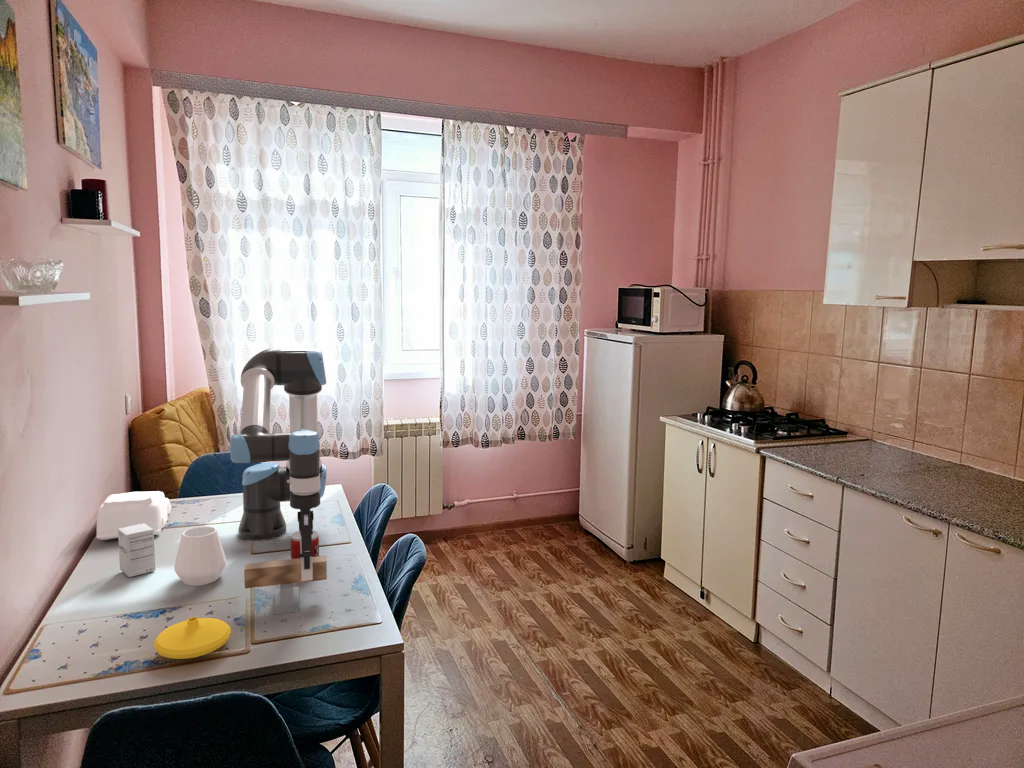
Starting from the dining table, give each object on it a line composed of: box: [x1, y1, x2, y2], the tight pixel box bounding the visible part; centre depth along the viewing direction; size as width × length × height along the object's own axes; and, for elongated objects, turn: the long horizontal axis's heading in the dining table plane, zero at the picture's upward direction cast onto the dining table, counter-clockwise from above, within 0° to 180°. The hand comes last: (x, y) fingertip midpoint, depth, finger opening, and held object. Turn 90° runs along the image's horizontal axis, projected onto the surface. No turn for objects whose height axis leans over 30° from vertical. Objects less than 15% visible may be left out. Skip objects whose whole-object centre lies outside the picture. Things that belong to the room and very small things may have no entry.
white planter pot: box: [173, 525, 228, 587], centre depth 186 cm, size 13×13×14 cm
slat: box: [243, 555, 328, 589], centre depth 172 cm, size 20×4×5 cm, turn 108°
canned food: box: [290, 530, 320, 559], centre depth 193 cm, size 8×8×11 cm
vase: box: [153, 616, 232, 660], centre depth 149 cm, size 16×16×7 cm
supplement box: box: [117, 523, 156, 578], centre depth 190 cm, size 7×7×13 cm
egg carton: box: [96, 490, 172, 541], centre depth 227 cm, size 19×30×13 cm, turn 21°
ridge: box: [273, 583, 300, 615], centre depth 173 cm, size 12×6×6 cm, turn 18°
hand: (306, 569), depth 174 cm, fingers open, 13 cm apart
